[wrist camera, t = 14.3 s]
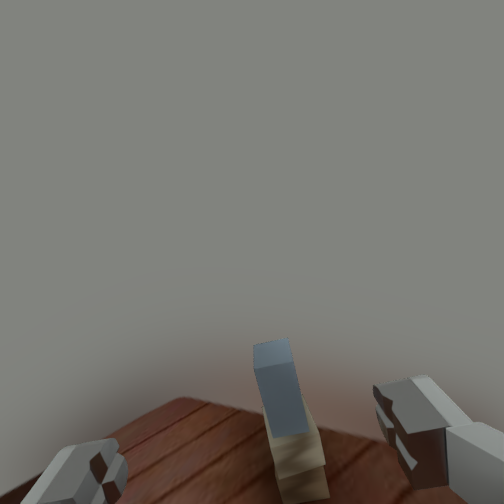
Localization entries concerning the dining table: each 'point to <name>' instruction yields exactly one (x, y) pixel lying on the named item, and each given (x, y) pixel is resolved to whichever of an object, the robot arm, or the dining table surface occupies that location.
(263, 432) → the dining table surface
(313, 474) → the tower base
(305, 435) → the tower top
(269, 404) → the pillar
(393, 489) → the dining table surface
